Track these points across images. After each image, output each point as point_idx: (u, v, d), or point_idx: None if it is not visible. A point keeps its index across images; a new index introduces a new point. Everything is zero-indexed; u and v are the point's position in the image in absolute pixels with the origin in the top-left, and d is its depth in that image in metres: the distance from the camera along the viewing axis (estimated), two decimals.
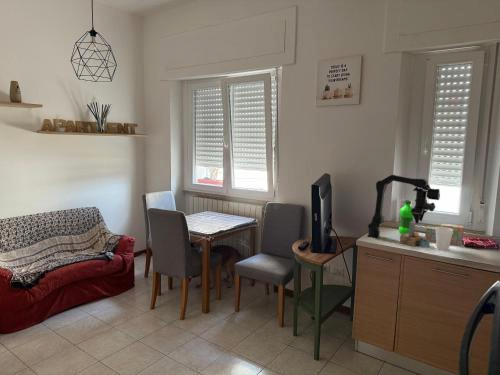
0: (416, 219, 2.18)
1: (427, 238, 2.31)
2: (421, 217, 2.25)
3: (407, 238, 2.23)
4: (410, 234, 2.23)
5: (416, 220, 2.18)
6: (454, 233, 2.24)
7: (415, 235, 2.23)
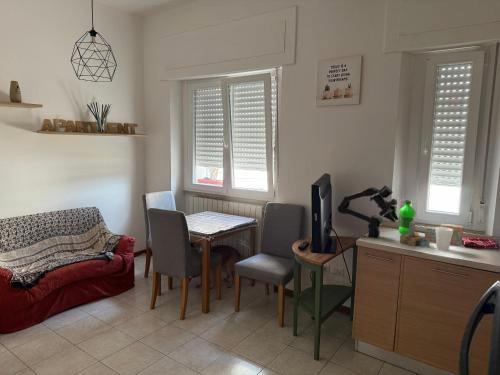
0: (391, 218, 2.29)
1: (427, 238, 2.31)
2: (395, 216, 2.34)
3: (407, 238, 2.23)
4: (410, 234, 2.23)
5: (391, 219, 2.28)
6: (453, 232, 2.24)
7: (415, 235, 2.23)
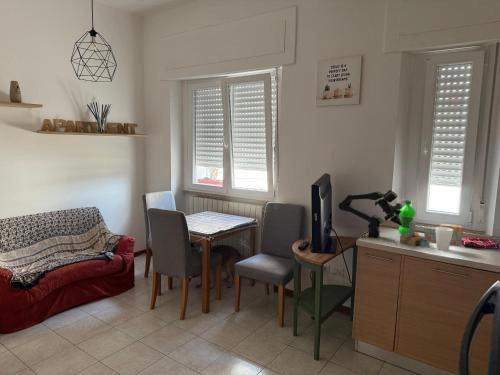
0: (397, 222, 2.29)
1: (426, 238, 2.31)
2: None
3: (407, 238, 2.23)
4: (410, 234, 2.23)
5: (398, 223, 2.29)
6: (453, 232, 2.25)
7: (415, 235, 2.23)
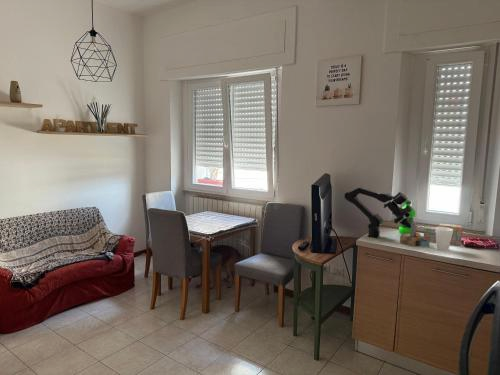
0: (407, 225, 2.25)
1: (426, 238, 2.31)
2: None
3: (407, 238, 2.23)
4: (412, 234, 2.22)
5: (408, 226, 2.25)
6: (453, 232, 2.25)
7: (416, 235, 2.22)
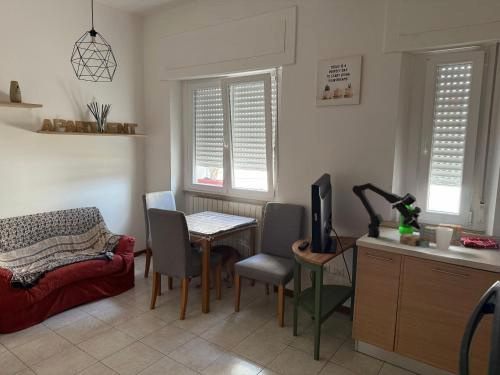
0: (416, 226, 2.22)
1: (425, 238, 2.31)
2: None
3: (407, 238, 2.23)
4: (421, 236, 2.19)
5: (417, 227, 2.22)
6: None
7: None
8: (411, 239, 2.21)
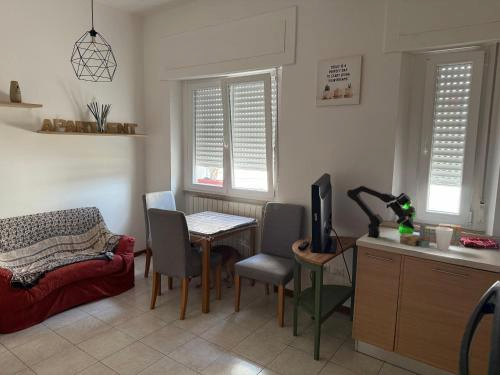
0: (410, 226, 2.24)
1: (425, 238, 2.31)
2: None
3: (407, 238, 2.23)
4: (421, 236, 2.19)
5: (411, 226, 2.24)
6: None
7: None
8: (411, 239, 2.21)
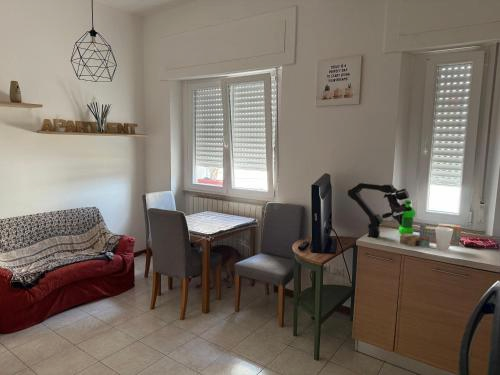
0: (397, 221, 2.30)
1: (425, 238, 2.31)
2: None
3: (407, 238, 2.23)
4: (421, 236, 2.19)
5: (398, 222, 2.30)
6: None
7: None
8: (411, 239, 2.21)
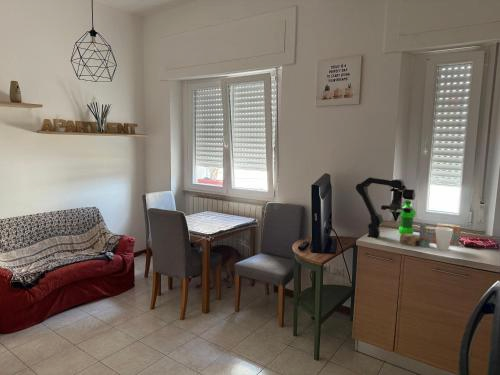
0: None
1: (424, 238, 2.31)
2: (396, 217, 2.31)
3: (407, 238, 2.23)
4: (421, 236, 2.19)
5: None
6: None
7: None
8: (411, 239, 2.21)
